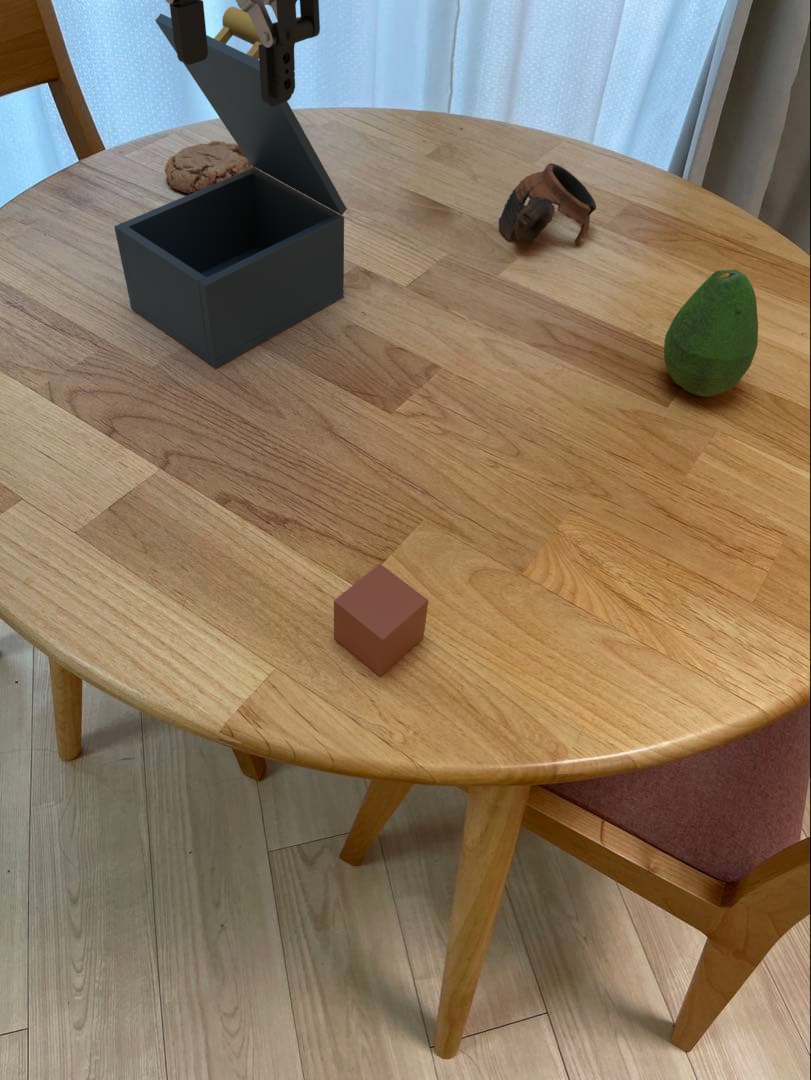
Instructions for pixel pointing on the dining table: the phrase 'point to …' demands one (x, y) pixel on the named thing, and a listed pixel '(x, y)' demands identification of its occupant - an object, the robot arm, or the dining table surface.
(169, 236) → the chest
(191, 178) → the cookie
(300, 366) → the dining table surface
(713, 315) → the avocado
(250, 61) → the lid
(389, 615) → the block
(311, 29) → the robot arm
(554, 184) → the pottery mug
